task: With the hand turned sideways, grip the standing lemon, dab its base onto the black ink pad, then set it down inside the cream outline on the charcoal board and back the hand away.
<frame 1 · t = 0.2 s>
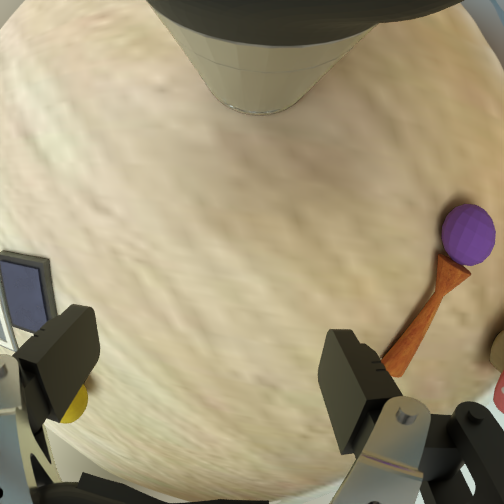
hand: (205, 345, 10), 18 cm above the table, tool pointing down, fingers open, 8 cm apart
ink pad: (30, 293, 29), on the table
decorative mushroom: (497, 337, 32), on the table
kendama: (426, 285, 29), on the table
lemon: (78, 378, 33), on the table
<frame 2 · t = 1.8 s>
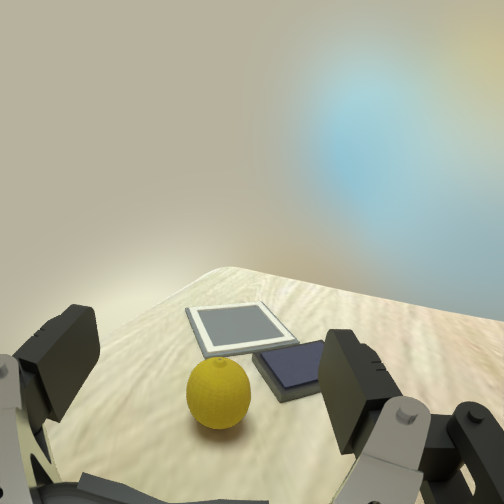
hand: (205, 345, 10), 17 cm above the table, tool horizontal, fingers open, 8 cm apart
ink pad: (303, 371, 34), on the table
marked board: (237, 327, 43), on the table
lemon: (217, 424, 25), on the table
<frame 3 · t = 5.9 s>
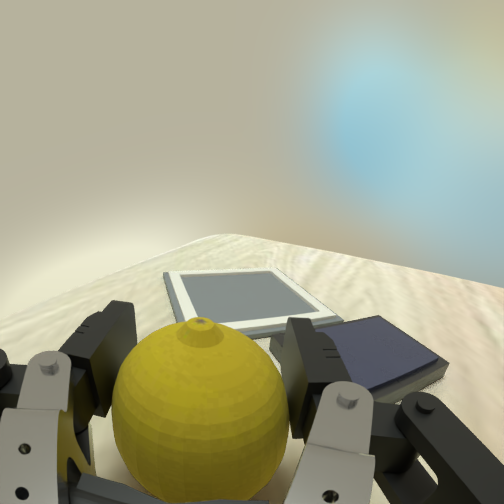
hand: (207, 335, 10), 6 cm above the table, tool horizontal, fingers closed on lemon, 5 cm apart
ink pad: (360, 366, 18), on the table
marked board: (242, 299, 28), on the table
lemon: (201, 485, 10), on the table, touching gripper
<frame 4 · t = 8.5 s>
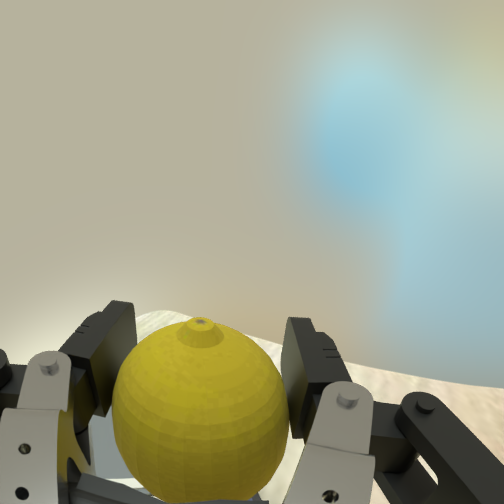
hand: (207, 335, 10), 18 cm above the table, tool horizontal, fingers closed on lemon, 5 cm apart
marked board: (128, 438, 22), on the table
lemon: (201, 485, 10), point 11 cm above the table, touching gripper
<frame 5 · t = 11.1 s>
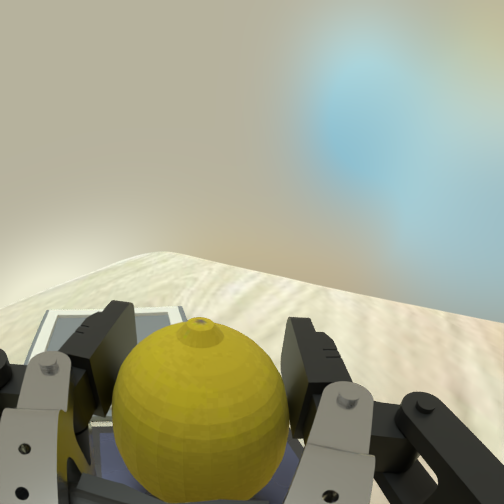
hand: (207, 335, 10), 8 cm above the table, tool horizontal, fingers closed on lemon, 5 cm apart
ink pad: (205, 495, 10), on the table
marked board: (110, 355, 19), on the table
lemon: (201, 485, 10), point 1 cm above the table, touching gripper, ink pad
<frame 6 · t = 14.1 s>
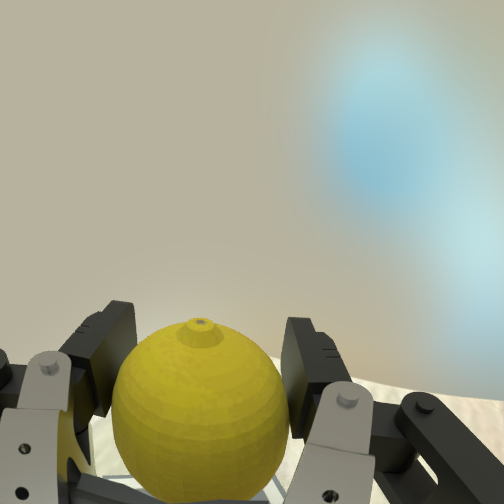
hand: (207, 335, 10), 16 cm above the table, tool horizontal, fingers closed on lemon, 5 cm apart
lemon: (201, 486, 9), point 10 cm above the table, touching gripper
when the fingers open (7 cm above the table, at t = 16.5 s): lemon stays where it is, resting on marked board.
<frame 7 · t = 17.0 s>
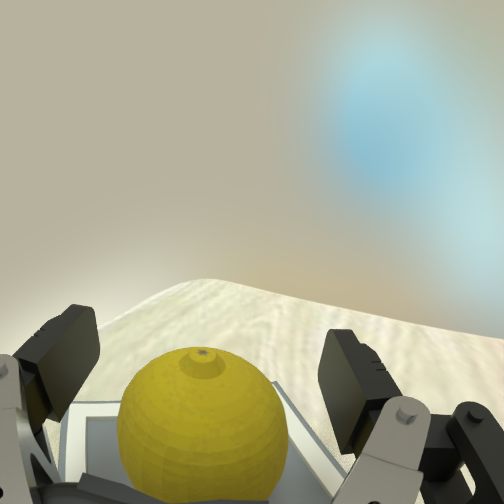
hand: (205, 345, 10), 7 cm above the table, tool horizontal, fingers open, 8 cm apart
marked board: (202, 494, 10), on the table
lemon: (203, 496, 10), resting on marked board
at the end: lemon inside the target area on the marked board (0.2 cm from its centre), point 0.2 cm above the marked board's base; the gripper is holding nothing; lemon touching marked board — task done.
